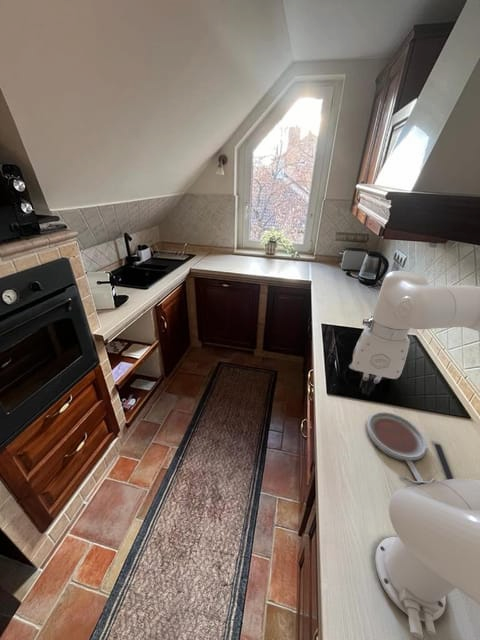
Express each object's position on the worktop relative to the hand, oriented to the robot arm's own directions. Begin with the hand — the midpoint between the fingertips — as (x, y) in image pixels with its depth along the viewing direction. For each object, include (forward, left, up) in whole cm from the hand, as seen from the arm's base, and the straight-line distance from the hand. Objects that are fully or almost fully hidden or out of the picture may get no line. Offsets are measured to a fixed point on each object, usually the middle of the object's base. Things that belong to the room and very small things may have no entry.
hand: (365, 390), depth 64 cm
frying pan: (+6, -18, -26) cm, 32 cm away
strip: (+7, -29, -26) cm, 40 cm away
